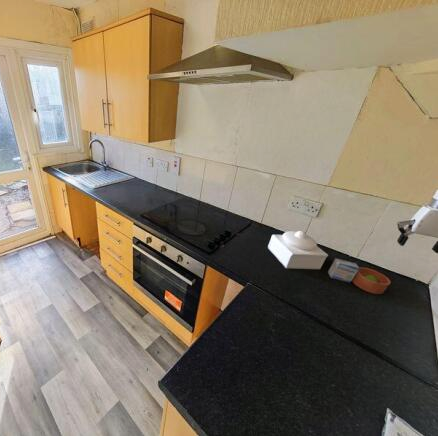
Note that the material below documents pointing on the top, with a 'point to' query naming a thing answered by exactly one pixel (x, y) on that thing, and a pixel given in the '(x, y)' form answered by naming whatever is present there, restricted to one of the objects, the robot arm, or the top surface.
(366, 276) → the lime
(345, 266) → the medicine box
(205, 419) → the top surface
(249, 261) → the top surface
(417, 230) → the robot arm
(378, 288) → the bowl
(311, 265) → the butter dish
